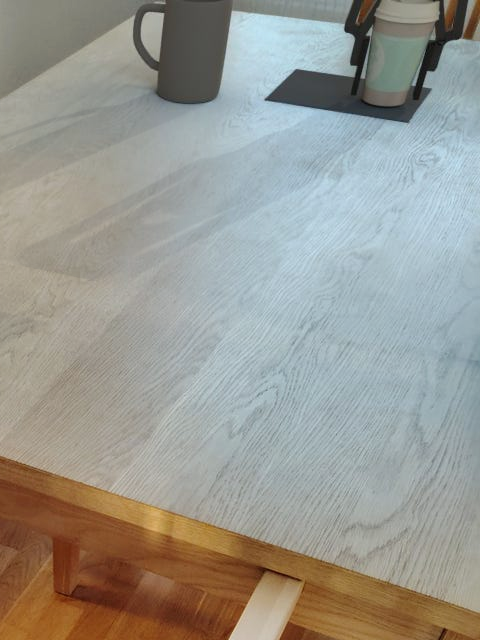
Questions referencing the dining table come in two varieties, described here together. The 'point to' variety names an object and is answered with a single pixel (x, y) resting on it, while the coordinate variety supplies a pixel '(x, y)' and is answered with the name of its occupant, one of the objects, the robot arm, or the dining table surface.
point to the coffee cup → (397, 49)
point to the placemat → (339, 96)
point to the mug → (188, 47)
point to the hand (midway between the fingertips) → (384, 94)
